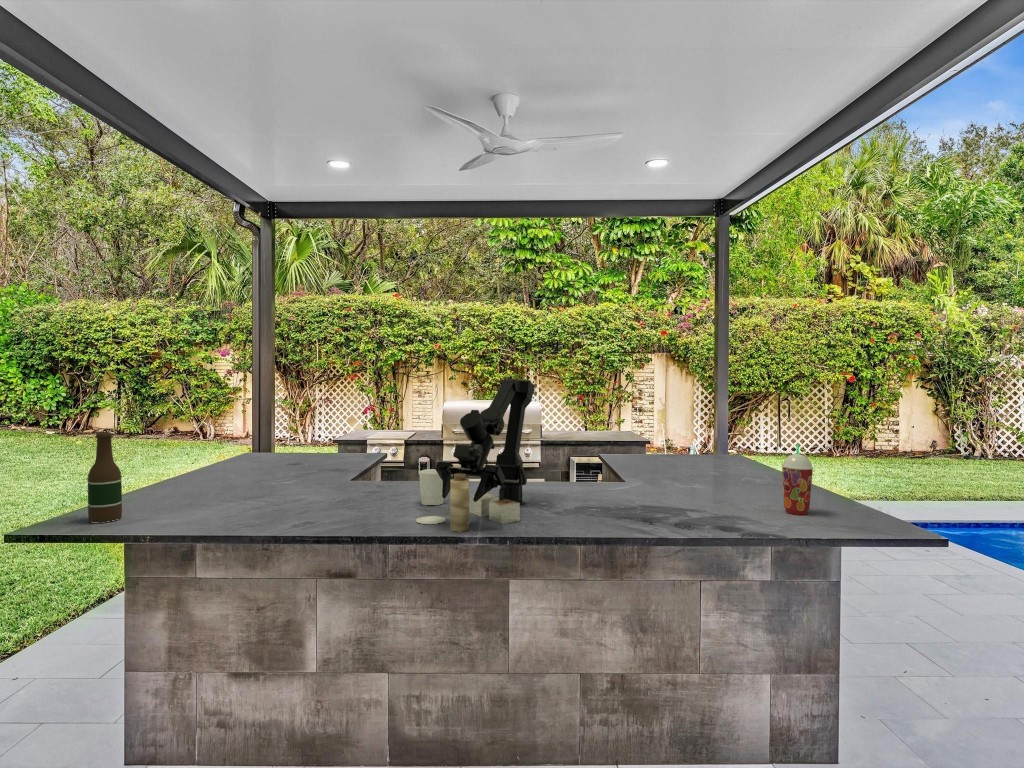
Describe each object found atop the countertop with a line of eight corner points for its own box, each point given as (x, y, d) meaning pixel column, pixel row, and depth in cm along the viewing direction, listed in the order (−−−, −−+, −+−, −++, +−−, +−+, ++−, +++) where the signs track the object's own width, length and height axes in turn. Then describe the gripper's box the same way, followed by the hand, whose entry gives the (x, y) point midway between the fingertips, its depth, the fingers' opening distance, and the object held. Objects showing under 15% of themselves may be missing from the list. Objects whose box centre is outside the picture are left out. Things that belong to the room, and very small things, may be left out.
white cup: (440, 507, 188) (440, 474, 187) (415, 505, 189) (415, 473, 189) (448, 501, 195) (448, 469, 195) (424, 500, 197) (424, 468, 197)
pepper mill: (462, 526, 165) (462, 471, 165) (472, 530, 161) (472, 474, 161) (447, 528, 162) (447, 473, 162) (456, 533, 159) (456, 476, 158)
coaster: (436, 516, 176) (436, 514, 176) (450, 522, 170) (450, 520, 170) (410, 520, 171) (410, 518, 171) (424, 526, 165) (424, 524, 165)
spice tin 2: (506, 516, 176) (506, 498, 176) (519, 521, 171) (519, 502, 171) (489, 519, 172) (489, 501, 172) (501, 524, 167) (501, 505, 167)
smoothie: (812, 511, 184) (813, 443, 183) (812, 517, 176) (813, 447, 176) (781, 508, 187) (782, 442, 187) (780, 514, 180) (781, 445, 179)
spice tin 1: (487, 509, 184) (487, 492, 184) (498, 513, 179) (498, 495, 179) (469, 512, 180) (469, 494, 180) (481, 516, 175) (481, 498, 175)
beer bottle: (128, 518, 172) (127, 431, 172) (102, 525, 165) (100, 434, 164) (108, 515, 175) (107, 430, 174) (81, 522, 168) (79, 433, 167)
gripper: (438, 431, 170) (416, 478, 160) (500, 434, 162) (481, 484, 152) (452, 456, 177) (432, 502, 167) (512, 461, 169) (494, 509, 159)
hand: (458, 499), depth 161 cm, fingers open, 9 cm apart
